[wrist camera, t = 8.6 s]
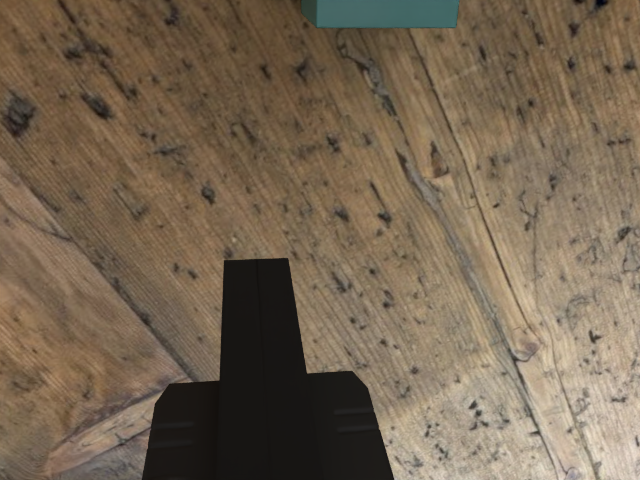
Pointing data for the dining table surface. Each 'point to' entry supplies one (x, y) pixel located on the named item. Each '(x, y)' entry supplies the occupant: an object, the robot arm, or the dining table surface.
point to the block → (381, 13)
